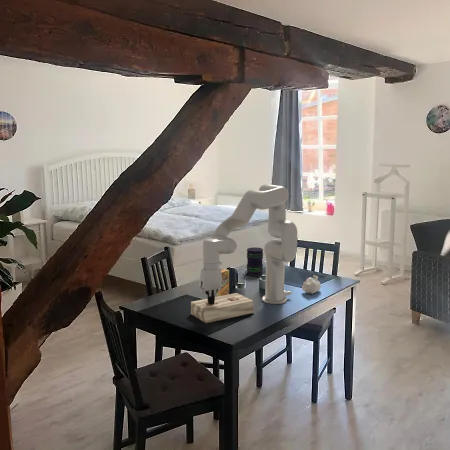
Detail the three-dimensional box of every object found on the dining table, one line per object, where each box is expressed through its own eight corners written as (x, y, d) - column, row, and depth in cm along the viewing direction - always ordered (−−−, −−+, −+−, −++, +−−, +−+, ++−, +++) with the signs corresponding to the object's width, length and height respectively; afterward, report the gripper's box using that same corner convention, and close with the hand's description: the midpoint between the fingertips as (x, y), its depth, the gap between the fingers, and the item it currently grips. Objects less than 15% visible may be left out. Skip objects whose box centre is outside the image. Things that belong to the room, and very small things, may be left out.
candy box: (219, 303, 260) (219, 273, 258) (212, 301, 263) (212, 272, 260) (229, 298, 267) (229, 270, 265) (222, 297, 270) (222, 268, 267)
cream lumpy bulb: (316, 272, 284) (306, 275, 271) (327, 281, 281) (318, 285, 268) (306, 285, 287) (296, 289, 274) (317, 294, 284) (307, 299, 271)
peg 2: (233, 308, 252) (233, 297, 251) (238, 311, 248) (238, 299, 247) (226, 310, 250) (227, 298, 248) (231, 312, 246) (231, 301, 245)
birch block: (191, 314, 245) (191, 301, 244) (236, 304, 258) (236, 292, 257) (206, 323, 233) (206, 310, 232) (252, 312, 247) (253, 300, 246)
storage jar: (265, 271, 319) (265, 248, 316) (259, 275, 310) (259, 251, 307) (250, 270, 323) (250, 246, 320) (244, 274, 314) (244, 250, 311)
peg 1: (212, 313, 245) (212, 301, 244) (217, 315, 242) (217, 303, 241) (205, 314, 243) (205, 303, 242) (209, 317, 240) (209, 305, 239)
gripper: (220, 261, 245) (220, 298, 249) (193, 265, 237) (193, 304, 241) (229, 265, 239) (228, 303, 242) (201, 269, 231) (201, 308, 234)
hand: (211, 303), depth 241 cm, fingers closed
